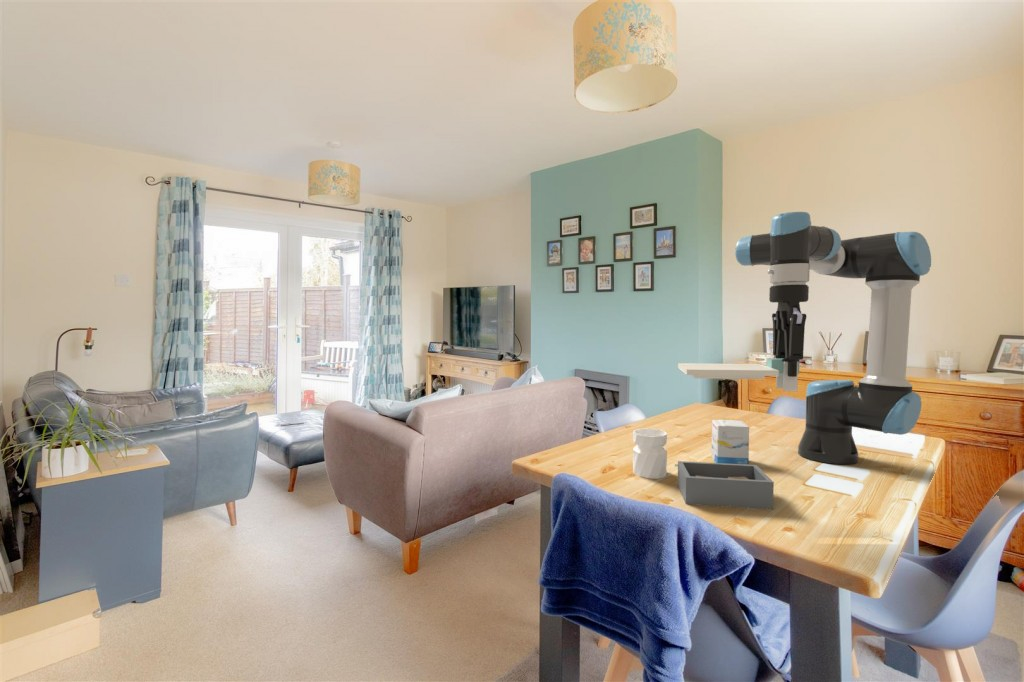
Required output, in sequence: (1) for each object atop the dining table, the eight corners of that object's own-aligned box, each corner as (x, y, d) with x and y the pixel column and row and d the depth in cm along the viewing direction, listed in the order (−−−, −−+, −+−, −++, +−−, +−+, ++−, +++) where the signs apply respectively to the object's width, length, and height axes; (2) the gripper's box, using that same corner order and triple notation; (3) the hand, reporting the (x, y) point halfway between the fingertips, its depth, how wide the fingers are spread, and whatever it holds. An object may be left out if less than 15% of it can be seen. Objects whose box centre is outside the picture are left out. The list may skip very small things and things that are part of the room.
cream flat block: (785, 373, 113) (785, 356, 113) (807, 381, 101) (808, 362, 101) (678, 372, 118) (678, 355, 118) (686, 379, 106) (686, 361, 105)
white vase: (657, 470, 133) (657, 427, 133) (672, 481, 125) (673, 435, 124) (627, 472, 132) (627, 429, 131) (641, 483, 123) (641, 437, 122)
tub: (755, 493, 116) (756, 464, 115) (772, 514, 104) (773, 482, 104) (677, 488, 119) (677, 461, 119) (685, 508, 107) (686, 477, 107)
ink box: (749, 467, 135) (750, 426, 135) (716, 465, 137) (717, 425, 136) (741, 458, 144) (741, 420, 143) (710, 457, 145) (711, 418, 145)
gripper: (758, 286, 115) (756, 383, 117) (784, 282, 99) (781, 395, 100) (793, 285, 114) (790, 384, 115) (824, 281, 98) (821, 396, 99)
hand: (786, 389), depth 108 cm, fingers closed on cream flat block, 3 cm apart
